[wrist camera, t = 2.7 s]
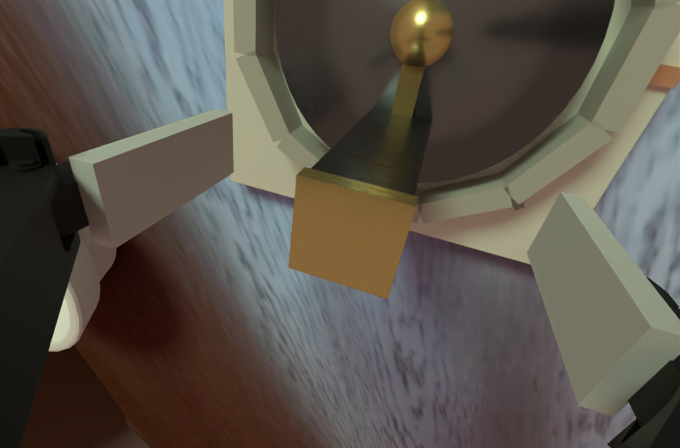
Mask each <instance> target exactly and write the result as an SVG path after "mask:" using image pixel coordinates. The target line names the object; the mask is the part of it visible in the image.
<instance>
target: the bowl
mask: <svg viewBox="0 0 680 448" xmlns="http://www.w3.org/2000/svg"><path fill="white" fill-rule="evenodd" d="M56 164H57V163H56ZM78 233H79V236H80V242H81V243H80V246H79V249H78V253H77V256H76V259H75V263H74V266H73V270H72V273H71V276H70V280H69V283H68V287H67V290H66V293H65V297H64V300H63V304H62V307H61V310H60V314H59V317H58V320H57V324H56V327H55V331H54V334H53V337H52V341H51V344H50V348H49V351H60V350H64V349H67V348H70V347H71V346H73V345H74V344H75V343H76V342H77V341H78V340H79V338H80V337H81V335H82V333H83V331H84V329H85V327H86V325H87V324H88V322H89V320H90V318H91V316H92V314H93V312H94V310H95V309H96V306H97V304H98V302H99V299H100V283H99V282H100V281H101V279H102V278H103V277H104V275H105V274H106V273H107V271H108V270H109V269H110V267H111V266H112V265H113V263H114V260H115V258H116V249H117V248H116V249H112V248H109V247H106V246H103V245H100V244H97V243H94V242H93V239H92V236H91V232H90V229H89V226H87V227H85V228H83V229H81V230H79V231H78Z"/></svg>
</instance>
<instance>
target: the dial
mask: <svg viewBox="0 0 680 448" xmlns="http://www.w3.org/2000/svg"><path fill="white" fill-rule="evenodd" d="M614 3H615V0H276V2H275V30H276V39H277V47H278V53H279V58H280V62H281V66H282V71H283V74H284V77H285V79H286V82H287V85H288V88H289V91H290V93H291V95H292V97H293V99H294V101H295V103H296V106H297V107H298V109H299V110H300V112H301V114H302V115H303V117H304V119H305V120H306V122H307V123H308V124H309V126H310V127H311V128H312V129H313V131H314V132H315V133H316V135H317V136H318V137H319V138H320V139H321V140H322V141H323V142H324V143H325V144H326V145H327V146H328V147H329V148H330V150H329V151H328V152H327V153H326V154H325V155H324V156H323V157H322V158H321V159H320V160H319V161H318V162H317V163H316V164H315V165H314V166H313V167H312V168H307V167H304V168H303V169H302V170H301V171H300V172H299V173H298V174H297V175H296V186H295V198H294V210H293V222H292V234H291V246H290V258H289V268H291V269H294V270H298V271H301V272H304V273H307V274H310V275H313V276H316V277H320V278H323V279H326V280H329V281H332V282H335V283H339V284H342V285H345V286H348V287H351V288H354V289H357V290H361V291H364V292H367V293H370V294H373V295H376V296H380V297H383V298H386V299H388V297H389V294H390V290H391V287H392V284H393V281H394V277H395V274H396V271H397V268H398V264H399V261H400V258H401V255H402V252H403V248H404V245H405V242H406V239H407V235H408V232H409V229H410V226H411V222H412V219H413V216H414V213H415V209H416V206H417V201H418V196H415V192H416V188H417V183H426V182H441V181H447V180H453V179H458V178H461V177H465V176H468V175H472V174H475V173H477V172H480V171H482V170H485V169H487V168H489V167H492V166H494V165H496V164H498V163H500V162H501V161H503V160H505V159H507V158H509V157H510V156H512V155H514V154H515V153H516V152H518V151H519V150H521V149H522V148H524V147H525V146H526V145H528V144H529V143H531V142H532V141H533V140H534V139H535V138H536V137H537V136H539V135H540V134H541V133H542V132H543V131H544V130H545V129H546V128H548V127H549V126H550V124H551V123H552V122H553V121H554V120H555V119H556V118H557V117H558V116H559V115H560V113H561V112H562V111H563V110H564V109H565V108H566V106H567V105H568V104H569V102H570V101H571V100H572V98H573V97H574V96H575V94H576V93H577V91H578V90H579V89H580V87H581V85H582V84H583V82H584V80H585V78H586V77H587V75H588V73H589V72H590V70H591V68H592V66H593V65H594V62H595V60H596V58H597V55H598V53H599V51H600V49H601V46H602V44H603V42H604V39H605V36H606V33H607V30H608V26H609V23H610V20H611V16H612V13H613V9H614Z"/></svg>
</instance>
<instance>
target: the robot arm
mask: <svg viewBox="0 0 680 448" xmlns="http://www.w3.org/2000/svg"><path fill="white" fill-rule="evenodd" d="M68 158H69V161H66V162H63V163H60V164H56V161H55V158H54V155H53V152H52V148H51V145H50V142H49V139H48V136H47V133H45V132H44V131H41V130H37V129H29V128H9V129H2V130H0V448H20V446H21V442H22V439H23V436H24V432H25V429H26V426H27V422H28V419H29V415H30V412H31V408H32V405H33V402H34V398H35V395H36V392H37V388H38V385H39V381H40V378H41V374H42V371H43V368H44V364H45V361H46V358H47V354H48V351H49V348H50V344H51V341H52V337H53V334H54V331H55V327H56V324H57V320H58V317H59V314H60V310H61V307H62V304H63V300H64V297H65V293H66V290H67V287H68V283H69V280H70V276H71V273H72V270H73V266H74V263H75V259H76V256H77V253H78V249H79V246H80V243H81V242H80V236H79V233H78V231H79V230H81V229H83V228H85V227H87V226H89V229H90V232H91V236H92V239H93V242H94V243H97V244H100V245H103V246H106V247H109V248H112V249H116V248H117V247H119V246H120V245H122V244H123V243H125V242H127V241H128V240H130V239H131V238H133V237H134V236H136V235H137V234H139V233H140V232H142V231H144V230H145V229H147V228H148V227H150V226H151V225H153V224H154V223H156V222H158V221H159V220H161V219H162V218H164V217H165V216H167V215H168V214H170V213H172V212H173V211H175V210H176V209H178V208H179V207H181V206H182V205H184V204H186V203H187V202H189V201H190V200H192V199H193V198H195V197H196V196H198V195H200V194H201V193H203V192H204V191H206V190H207V189H209V188H210V187H212V186H214V185H215V184H217V183H218V182H220V181H221V180H223V179H224V178H226V177H228V176H229V175H231V174H232V173H234V159H233V113H232V112H228V111H224V110H220V109H214V110H211V111H208V112H205V113H202V114H199V115H196V116H193V117H190V118H186V119H183V120H180V121H177V122H174V123H171V124H168V125H165V126H162V127H159V128H156V129H153V130H150V131H147V132H144V133H141V134H138V135H135V136H131V137H128V138H125V139H122V140H119V141H116V142H113V143H110V144H107V145H104V146H101V147H98V148H95V149H92V150H89V151H86V152H83V153H79V154H76V155H73V156H70V157H68ZM527 255H528V258H529V261H530V264H531V267H532V270H533V273H534V276H535V279H536V282H537V285H538V288H539V291H540V294H541V297H542V300H543V303H544V306H545V309H546V312H547V315H548V318H549V321H550V324H551V327H552V330H553V333H554V336H555V339H556V342H557V345H558V348H559V351H560V354H561V357H562V360H563V363H564V366H565V369H566V372H567V375H568V378H569V381H570V384H571V387H572V390H573V393H574V396H575V399H576V402H577V405H578V406H581V407H584V408H587V409H590V410H593V411H596V412H599V413H602V414H605V415H608V416H611V417H613V416H614V415H615V414H616V413H617V412H618V411H620V410H621V409H622V408H623V407H624V406H625V405H626V404H627V403H628V402H629V403H630V405H631V408H632V410H633V412H634V414H635V416H636V418H637V419H636V420H634V421H633V422H632V423H631V424H630V425H629V426H628V427H626V428H625V429H624V430H623V431H622V432H621V433H620V434H618V435H617V436H616V437H615V438H614V439H613V440H611V441H610V442H609V443H608V445H609V446H610V447H611V448H680V309H678V307H679V306H678V305H677V304H676V303H675V301H674V300H673V299H672V298H671V296H670V295H669V294H668V293H667V292H666V291H665V290H663V289H662V288H661V287H660V286H658V285H657V284H656V283H655V282H653V281H652V280H651V279H649V278H646V276H645V275H644V274H643V273H642V271H641V270H640V269H639V267H638V266H637V265H636V264H635V262H634V261H633V260H632V259H631V257H630V256H629V255H628V253H627V252H626V251H625V250H624V248H623V247H622V246H621V245H620V243H619V242H618V241H617V239H616V238H615V237H614V236H613V234H612V233H611V232H610V231H609V229H608V228H607V227H606V225H605V224H604V223H603V222H602V220H601V219H600V218H599V217H598V215H597V214H596V213H595V211H594V210H593V209H592V208H591V206H590V205H589V204H588V202H587V201H586V200H585V199H584V197H580V196H576V195H572V194H568V193H564V192H560V194H559V196H558V197H557V199H556V201H555V203H554V205H553V206H552V208H551V210H550V212H549V214H548V215H547V217H546V219H545V221H544V223H543V224H542V226H541V228H540V230H539V232H538V233H537V235H536V237H535V239H534V241H533V242H532V244H531V246H530V248H529V250H528V251H527Z"/></svg>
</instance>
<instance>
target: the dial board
mask: <svg viewBox="0 0 680 448" xmlns="http://www.w3.org/2000/svg"><path fill="white" fill-rule="evenodd" d="M275 2H276V0H224V25H225V55H226V85H227V111H228V112H232V113H233V159H234V173H232V174H231V175H229V176H230V181H234V182H238V183H241V184H245V185H248V186H252V187H255V188H259V189H263V190H266V191H270V192H273V193H277V194H280V195H284V196H288V197H291V198H295V186H296V175H297V174H298V173H299V172H300V171H301V170H302V169H303V168H304V167H307V168H312V167H313V166H314V165H315V164H316V163H317V162H318V161H319V160H320V159H321V158H322V157H323V156H324V155H325V154H326V153H327V152H328V151H329V150H330V148H329V147H328V146H327V145H326V144H325V143H324V142H323V141H322V140H321V139H320V138H319V137H318V136H317V135H316V133H315V132H314V131H313V129H312V128H311V127H310V126H309V124H308V123H307V122H306V120H305V119H304V117H303V115H302V114H301V112H300V110H299V109H298V107H297V106H296V103H295V101H294V99H293V97H292V95H291V93H290V91H289V88H288V85H287V82H286V79H285V77H284V74H283V71H282V66H281V62H280V58H279V53H278V47H277V39H276V30H275ZM679 80H680V0H615V3H614V9H613V13H612V16H611V20H610V23H609V26H608V30H607V33H606V36H605V39H604V42H603V44H602V46H601V49H600V51H599V53H598V55H597V58H596V60H595V62H594V65H593V66H592V68H591V70H590V72H589V73H588V75H587V77H586V78H585V80H584V82H583V84H582V85H581V87H580V89H579V90H578V91H577V93H576V94H575V96H574V97H573V98H572V100H571V101H570V102H569V104H568V105H567V106H566V108H565V109H564V110H563V111H562V112H561V113H560V115H559V116H558V117H557V118H556V119H555V120H554V121H553V122H552V123H551V124H550V126H549V127H548V128H546V129H545V130H544V131H543V132H542V133H541V134H540V135H539V136H537V137H536V138H535V139H534V140H533V141H532V142H531V143H529V144H528V145H526V146H525V147H524V148H522V149H521V150H519V151H518V152H516V153H515V154H514V155H512V156H510V157H509V158H507V159H505V160H503V161H501V162H500V163H498V164H496V165H494V166H492V167H489V168H487V169H485V170H482V171H480V172H477V173H475V174H472V175H468V176H465V177H461V178H458V179H453V180H447V181H441V182H426V183H417V188H416V192H415V196H418V201H417V206H416V209H415V213H414V216H413V219H412V222H411V226H410V229H409V231H413V232H416V233H420V234H424V235H427V236H431V237H434V238H438V239H441V240H445V241H449V242H452V243H456V244H459V245H463V246H466V247H470V248H474V249H477V250H481V251H484V252H488V253H492V254H495V255H499V256H502V257H506V258H509V259H513V260H517V261H520V262H524V263H527V264H530V261H529V258H528V255H527V251H528V250H529V248H530V246H531V244H532V242H533V241H534V239H535V237H536V235H537V233H538V232H539V230H540V228H541V226H542V224H543V223H544V221H545V219H546V217H547V215H548V214H549V212H550V210H551V208H552V206H553V205H554V203H555V201H556V199H557V197H558V196H559V194H560V192H564V193H568V194H572V195H576V196H580V197H584V199H585V200H586V201H587V202H588V204H589V205H590V206H591V208H592V209H594V207H595V206H596V204H597V203H598V201H599V200H600V198H601V196H602V195H603V193H604V192H605V190H606V189H607V187H608V185H609V184H610V182H611V181H612V179H613V178H614V176H615V175H616V173H617V171H618V170H619V168H620V167H621V165H622V164H623V162H624V160H625V159H626V157H627V156H628V154H629V153H630V151H631V149H632V148H633V146H634V145H635V143H636V142H637V140H638V138H639V137H640V135H641V134H642V132H643V131H644V129H645V128H646V126H647V124H648V123H649V121H650V120H651V118H652V117H653V115H654V113H655V112H656V110H657V109H658V107H659V106H660V104H661V102H662V101H663V99H664V98H665V96H666V95H667V93H668V92H669V90H670V88H673V89H674V88H675V86H676V85H677V83H678V82H679Z"/></svg>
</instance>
